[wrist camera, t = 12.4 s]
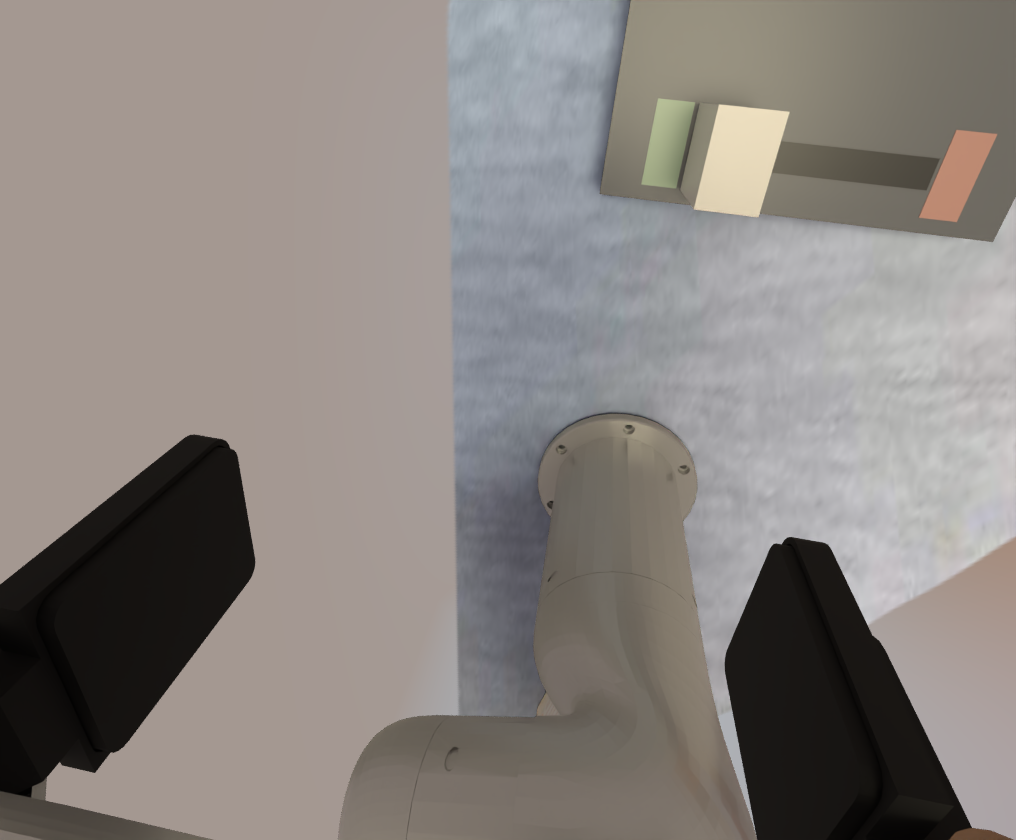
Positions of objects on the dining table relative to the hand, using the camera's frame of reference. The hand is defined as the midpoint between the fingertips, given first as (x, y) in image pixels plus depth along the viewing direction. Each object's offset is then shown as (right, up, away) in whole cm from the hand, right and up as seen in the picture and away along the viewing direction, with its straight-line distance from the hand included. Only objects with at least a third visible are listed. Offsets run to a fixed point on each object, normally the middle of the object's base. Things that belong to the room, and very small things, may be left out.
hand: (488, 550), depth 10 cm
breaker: (+12, +17, +22) cm, 30 cm away
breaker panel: (+18, +23, +21) cm, 36 cm away
